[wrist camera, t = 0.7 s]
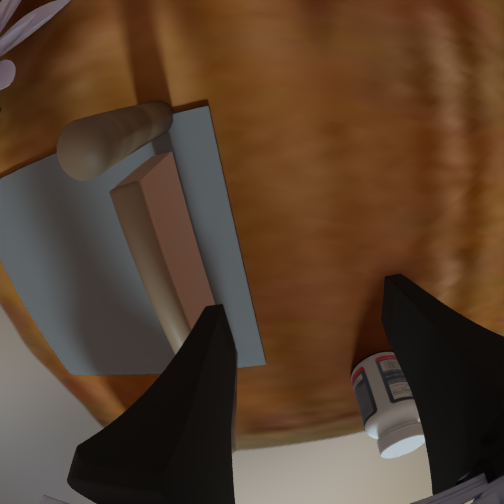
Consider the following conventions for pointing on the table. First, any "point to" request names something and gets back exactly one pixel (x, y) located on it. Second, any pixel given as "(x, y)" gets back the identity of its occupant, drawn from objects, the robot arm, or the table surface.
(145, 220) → the brown rimmed panel
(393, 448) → the pill bottle
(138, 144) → the brown wooden posts
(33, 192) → the mat
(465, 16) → the table surface
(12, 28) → the water lily
